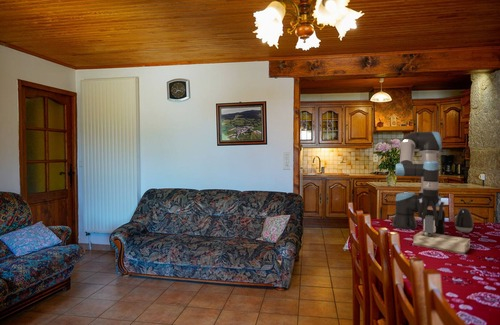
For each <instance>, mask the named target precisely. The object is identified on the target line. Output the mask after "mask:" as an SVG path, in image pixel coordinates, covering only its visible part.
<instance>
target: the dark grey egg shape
mask: <svg viewBox="0 0 500 325" xmlns="http://www.w3.org/2000/svg"><path fill="white" fill-rule="evenodd" d="M454 226H455V229H456V230H457V231H458V232H460V233H470V232H472V231H473V228H474V220H473V216H472V213H471V211H470V210H469V209H468V208H466V207H463V208H461V207H459V210H458V211H457V214H456V217H455V220H454Z"/></svg>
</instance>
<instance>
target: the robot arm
mask: <svg viewBox="0 0 500 325" xmlns="http://www.w3.org/2000/svg"><path fill="white" fill-rule="evenodd" d="M442 148H443V145H442V136H441V133H440V132H438V131H413V132H410V133H408V134H406V135H404V136H403V137H402V138H401V140H400V142H399V149H400V154H399V163H395V171H394V172H395V175H396V176H397V177H415V178H417V177H419V178H420V177H421V178H420V184H421V186H420V188H421V189H420V190H419V191H418V194H416V193H415V192H413V191H412V192H410V191H409V192H408V191H407V192H400V193H397V194H396V195H395V199H394V200H395V201H394V202H395V210H394V212H395V213H394V214H395V215H394V217H393V220H392V227H393V228H395V229H396V228H397V229H400V230H401V229H403V230H415V229H418V224H417V221H416V217H415V213H417V216H418V217H417V218H421V224H422V225H423V232H424V231H425V216H426V213H427V209H428V206H432V208H433V213H434V218H435V220H433V232H436V226H438V220H441V219H442V213H443V208H444V205H445V201H442V200H441V199H442V196H440V195H439V188H440V187H439V183H440V182H439V180H440V179H439V176H440V162H439V161H437V154H438V153H440V150H442ZM414 150H419V153H420V154H421V163H414ZM436 206H437V207H439V218H438V214H437V209H436Z"/></svg>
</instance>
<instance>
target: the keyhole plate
mask: <svg viewBox="0 0 500 325" xmlns="http://www.w3.org/2000/svg"><path fill="white" fill-rule="evenodd" d="M412 240H413V246H418V247H424V248H428V249H434V250H439V251H443V252H444V251H445V252H448V253H449V252H451V253H456V254H460V255H465V254H466V253H467V252H468V251H469V250H470V249H471V238H466V237H460V236H453V235H449V234H447V235H446V234H444V235H442V234H435V233H433V234H432V237H427V233H426V232H424V230H422V231H419V232H417V233H416V234H414V235H413V239H412Z"/></svg>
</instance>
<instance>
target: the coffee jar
mask: <svg viewBox="0 0 500 325" xmlns="http://www.w3.org/2000/svg"><path fill="white" fill-rule="evenodd" d="M436 209H437V214H438V218H439V207H437V206H436ZM445 211H446V208H445V207H443V213H442V219H441V220H438V226H436V232H434V233H435V234H442V235H445V227H446V226H445V224H446V223H445V222H446V212H445ZM426 215H430V216H434V213H433V208H432V206H428V209H427V213H426ZM423 232H425V231H424V230H423Z"/></svg>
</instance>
